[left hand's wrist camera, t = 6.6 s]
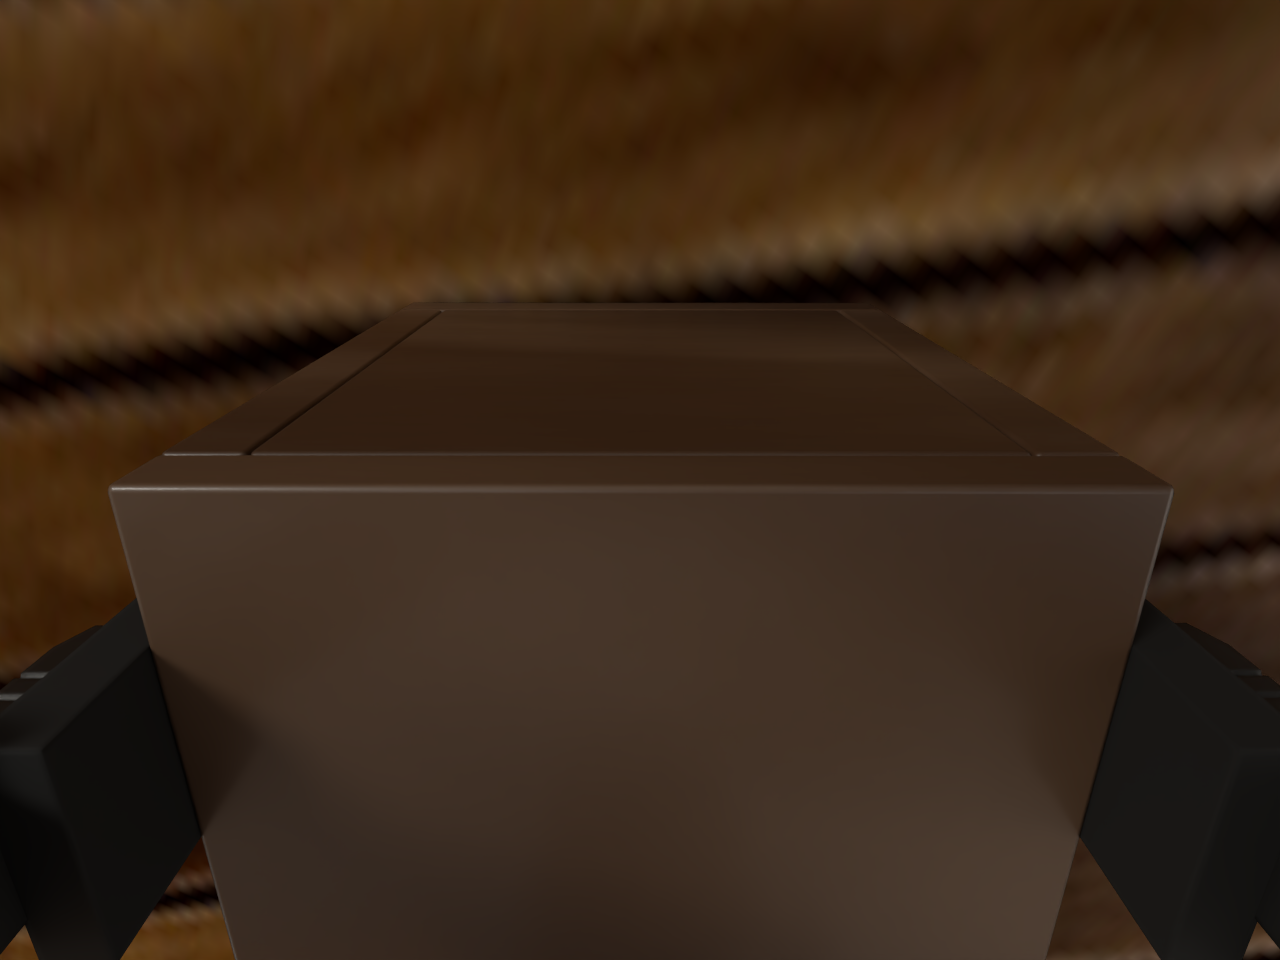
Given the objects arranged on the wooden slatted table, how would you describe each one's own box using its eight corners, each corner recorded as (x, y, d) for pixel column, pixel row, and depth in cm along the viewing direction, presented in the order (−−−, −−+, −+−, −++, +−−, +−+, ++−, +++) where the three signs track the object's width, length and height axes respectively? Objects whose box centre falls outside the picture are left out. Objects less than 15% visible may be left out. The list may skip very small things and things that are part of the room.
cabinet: (812, 830, 24) (944, 1336, 14) (467, 830, 24) (335, 1336, 14) (869, 302, 18) (1180, 486, 8) (410, 302, 18) (101, 485, 8)
